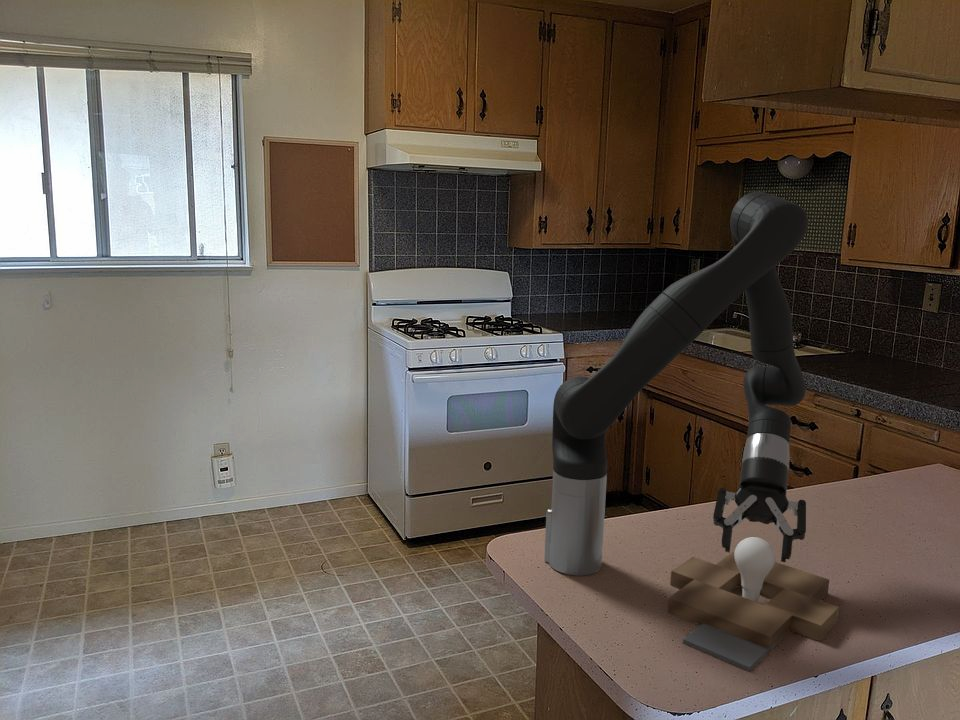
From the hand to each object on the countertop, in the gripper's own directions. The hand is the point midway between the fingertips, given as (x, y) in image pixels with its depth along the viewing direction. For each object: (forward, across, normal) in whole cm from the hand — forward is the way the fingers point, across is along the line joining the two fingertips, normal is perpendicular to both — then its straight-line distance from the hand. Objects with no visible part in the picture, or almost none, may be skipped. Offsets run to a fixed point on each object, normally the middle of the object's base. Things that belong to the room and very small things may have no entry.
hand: (755, 555), depth 125 cm
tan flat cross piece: (+6, 0, +5) cm, 8 cm away
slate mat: (+16, -2, -6) cm, 17 cm away
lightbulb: (+6, 0, +5) cm, 8 cm away
